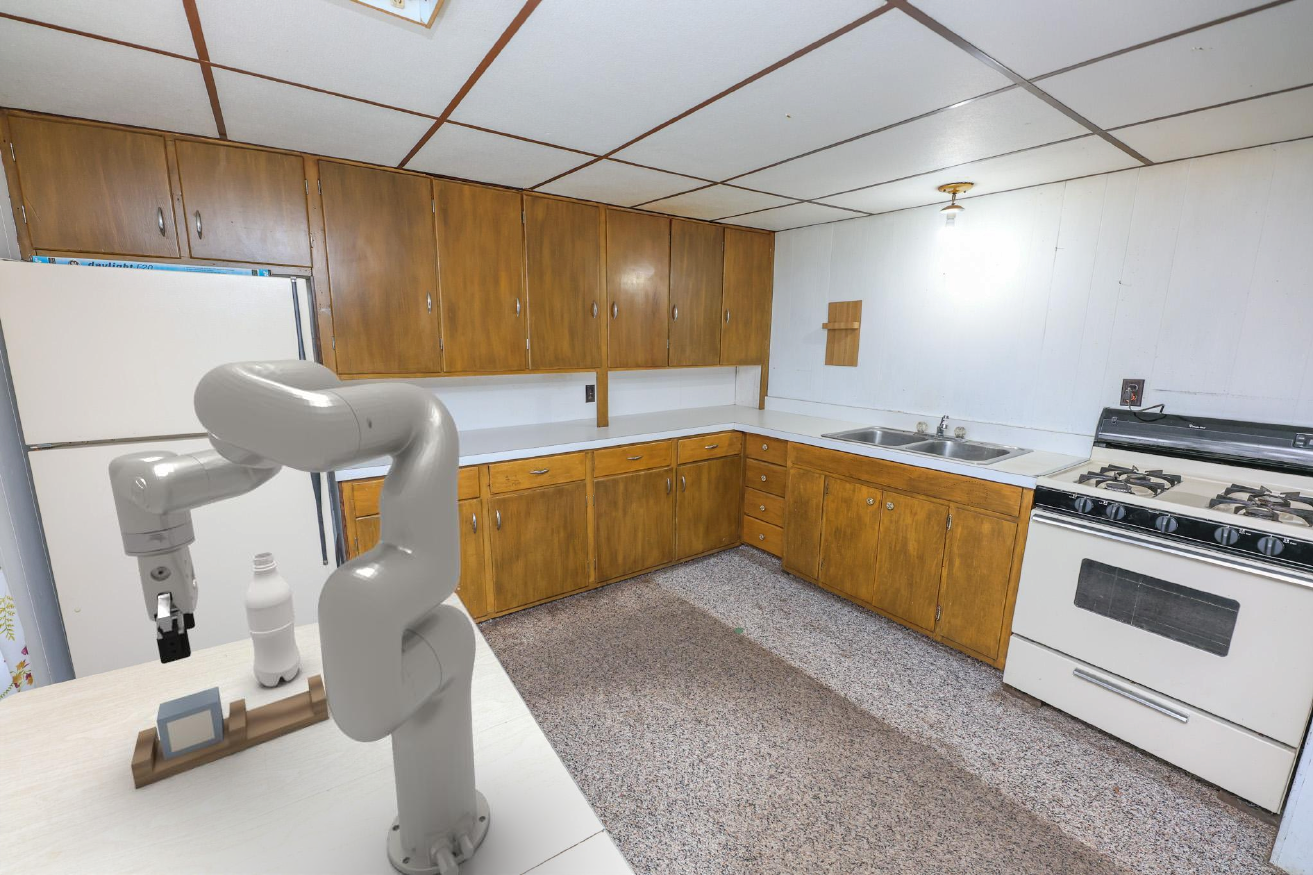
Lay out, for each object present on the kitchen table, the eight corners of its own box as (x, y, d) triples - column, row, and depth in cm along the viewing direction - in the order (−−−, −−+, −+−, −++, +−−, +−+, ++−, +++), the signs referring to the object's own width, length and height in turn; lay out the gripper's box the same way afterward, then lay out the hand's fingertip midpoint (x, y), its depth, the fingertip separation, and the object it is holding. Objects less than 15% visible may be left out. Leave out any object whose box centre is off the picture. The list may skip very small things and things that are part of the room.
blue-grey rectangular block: (223, 740, 84) (217, 701, 83) (164, 761, 80) (156, 720, 78) (224, 723, 87) (218, 686, 86) (167, 743, 83) (159, 703, 82)
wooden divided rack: (328, 718, 91) (326, 697, 90) (135, 788, 77) (130, 765, 76) (322, 693, 97) (320, 673, 97) (143, 754, 83) (138, 731, 82)
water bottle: (248, 682, 100) (229, 558, 95) (288, 662, 106) (273, 544, 101) (269, 694, 97) (251, 567, 92) (309, 673, 103) (295, 552, 98)
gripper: (189, 549, 72) (209, 662, 76) (197, 515, 86) (213, 613, 89) (112, 563, 68) (136, 683, 71) (132, 525, 81) (152, 627, 84)
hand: (179, 644), depth 80 cm, fingers open, 9 cm apart
